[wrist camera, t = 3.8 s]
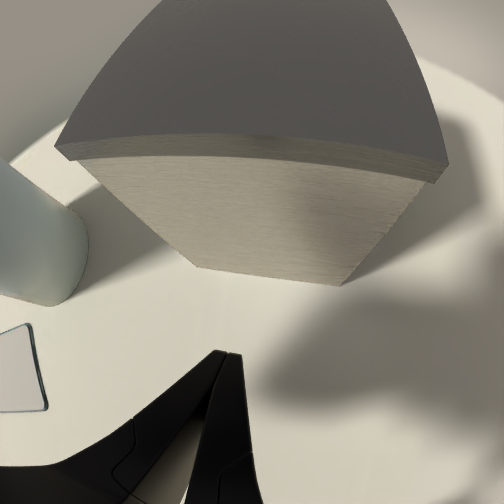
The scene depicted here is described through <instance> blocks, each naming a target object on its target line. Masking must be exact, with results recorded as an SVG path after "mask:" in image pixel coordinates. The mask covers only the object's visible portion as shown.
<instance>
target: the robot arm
mask: <svg viewBox="0 0 504 504" xmlns="http://www.w3.org/2000/svg"><path fill="white" fill-rule="evenodd" d="M252 451H253V450H252V442H251V433H250V425H249V416H248V407H247V398H246V389H245V380H244V370H243V360H242V355H241V354H237V353H231V352H230V353H227V352H226V351H221V350H213V351H212V352H211V353H210V354H209V355H208V356H206V357H205V358H204V359H203V360H202V361H201V362H199V363H198V364H197V365H196V366H195V367H194V368H192V369H191V370H190V371H189V372H188V373H186V374H185V375H184V376H183V377H182V378H181V379H179V380H178V381H177V382H176V383H175V384H173V385H172V386H171V387H170V388H168V389H167V390H166V391H165V392H164V393H162V394H161V395H160V396H159V397H158V398H156V399H155V400H154V401H153V402H151V403H150V404H149V405H148V406H146V407H145V408H144V409H143V410H141V411H140V412H139V413H138V414H136V415H135V416H134V417H133V419H130V420H128V421H127V422H126V423H125V424H123V425H122V426H121V427H119V428H118V429H117V430H115V431H114V432H112V433H111V434H110V435H108V436H106V437H105V438H103V439H101V440H100V441H98V442H96V443H95V444H93V445H91V446H89V447H87V448H86V449H84V450H82V451H80V452H78V453H76V454H75V455H73V456H71V457H69V458H67V459H65V460H63V461H61V462H58V463H55V464H51V465H44V466H0V504H180V502H181V500H182V498H183V495H184V493H185V491H186V489H187V486H188V484H189V486H188V490H187V494H186V499H185V503H184V504H263V500H262V497H261V493H260V490H259V486H258V482H257V477H256V471H255V465H254V457H253V453H252Z"/></svg>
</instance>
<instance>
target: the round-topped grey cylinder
mask: <svg viewBox="0 0 504 504" xmlns="http://www.w3.org/2000/svg"><path fill="white" fill-rule="evenodd" d="M88 246H89V242H88V233H87V229H86V226H85V224H84V222H83V220H82V219H81V218H80V216H79V215H77V214H76V213H74V212H73V211H72V210H70V209H69V208H67V207H66V206H64V205H63V204H62V203H60V202H59V201H57V200H56V199H55V198H53V197H52V196H50V195H49V194H48V193H46V192H45V191H43V190H42V189H41V188H39V187H38V186H37V185H35V184H34V183H33V182H31V181H30V180H29V179H27V178H26V177H25V176H23V175H22V174H21V173H19V172H18V171H17V170H16V169H14V168H13V167H12V166H10V165H9V164H8V163H7V162H5V161H4V160H3V159H2V158H0V295H4V296H7V297H11V298H14V299H18V300H22V301H26V302H29V303H33V304H37V305H41V306H45V307H52V306H56V305H59V304H60V303H62V302H63V301H65V300H66V299H67V298H68V297H69V296H70V295H71V294H72V293H73V291H74V290H75V288H76V287H77V285H78V283H79V281H80V279H81V277H82V275H83V272H84V269H85V266H86V262H87V257H88Z"/></svg>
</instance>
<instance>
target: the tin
mask: <svg viewBox="0 0 504 504" xmlns="http://www.w3.org/2000/svg"><path fill="white" fill-rule="evenodd" d="M54 147H55V148H56V149H57V150H58V151H59V152H60V153H62V154H63V155H64V156H65V157H66V158H67V159H68V160H69V161H75V160H77V161H78V162H79V163H80V164H81V165H82V166H83V167H84V168H85V169H86V170H87V171H88V172H89V173H90V174H91V175H92V176H94V177H95V178H96V179H97V180H98V181H99V182H100V183H101V184H102V185H103V186H104V187H105V188H106V189H108V190H109V191H110V192H111V193H112V194H113V195H114V196H115V197H116V198H117V199H118V200H120V201H121V202H122V203H123V204H124V205H125V206H126V207H127V208H128V209H130V210H131V211H132V212H133V213H134V214H135V215H136V216H137V217H139V218H140V219H141V220H142V221H143V222H144V223H145V224H146V225H148V226H149V227H150V228H151V229H152V230H153V231H154V232H156V233H157V234H158V235H159V236H160V237H161V238H163V239H164V240H165V241H166V242H167V243H168V244H170V245H171V246H172V247H173V248H174V249H175V250H177V251H178V252H179V253H180V254H181V255H183V256H184V257H185V258H186V259H187V260H189V261H190V262H191V263H192V264H193V265H194V266H196V267H197V268H204V269H211V270H218V271H225V272H232V273H239V274H247V275H254V276H262V277H269V278H277V279H285V280H292V281H300V282H308V283H317V284H325V285H333V286H340V285H341V284H342V283H343V282H344V281H345V280H346V279H347V278H348V277H349V276H350V275H351V273H352V272H353V271H354V270H355V269H356V268H357V267H358V266H359V264H360V263H361V262H362V261H363V260H364V259H365V258H366V256H367V255H368V254H369V253H370V252H371V251H372V250H373V248H374V247H375V246H376V245H377V244H378V242H379V241H380V240H381V239H382V238H383V237H384V235H385V234H386V233H387V232H388V230H389V229H390V228H391V227H392V226H393V224H394V223H395V222H396V221H397V219H398V218H399V217H400V216H401V214H402V213H403V212H404V211H405V209H406V208H407V207H408V206H409V204H410V203H411V202H412V200H413V199H414V198H415V196H416V195H417V194H418V193H419V191H420V190H421V189H422V187H423V186H424V184H425V183H426V182H429V183H433V184H434V183H435V182H436V180H437V179H438V178H439V177H440V175H441V174H442V173H443V171H444V170H445V169H446V167H447V166H448V165H449V162H448V158H447V153H446V149H445V145H444V141H443V137H442V133H441V129H440V126H439V122H438V119H437V116H436V112H435V109H434V106H433V103H432V100H431V97H430V94H429V91H428V88H427V86H426V83H425V80H424V78H423V75H422V73H421V70H420V68H419V65H418V63H417V60H416V58H415V56H414V53H413V51H412V49H411V47H410V45H409V42H408V40H407V39H406V36H405V34H404V32H403V30H402V28H401V26H400V24H399V23H398V20H397V19H396V17H395V15H394V13H393V11H392V9H391V8H390V6H389V4H388V3H387V1H386V0H162V1H161V2H160V3H159V4H158V5H157V6H156V7H155V8H154V9H153V10H152V11H151V12H150V13H149V14H148V15H147V16H146V17H145V18H144V19H143V20H142V21H141V22H140V24H139V25H138V26H137V27H136V28H135V29H134V30H133V31H132V32H131V33H130V35H129V36H128V37H127V38H126V39H125V41H124V42H123V43H122V44H121V45H120V47H119V48H118V49H117V50H116V51H115V53H114V54H113V55H112V56H111V58H110V59H109V60H108V62H107V63H106V64H105V65H104V67H103V68H102V69H101V71H100V72H99V74H98V75H97V76H96V78H95V79H94V81H93V82H92V83H91V85H90V86H89V88H88V89H87V91H86V92H85V94H84V95H83V97H82V98H81V100H80V102H79V103H78V105H77V106H76V108H75V110H74V111H73V113H72V115H71V116H70V118H69V120H68V121H67V123H66V125H65V127H64V129H63V130H62V132H61V134H60V136H59V138H58V140H57V141H56V143H55V145H54Z"/></svg>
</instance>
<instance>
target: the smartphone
mask: <svg viewBox="0 0 504 504" xmlns="http://www.w3.org/2000/svg"><path fill="white" fill-rule="evenodd" d="M47 409H48V402H47V399H46V395H45V391H44V387H43V383H42V379H41V375H40V371H39V366H38V361H37V356H36V351H35V345H34V339H33V333H32V328H31V326H30V324H28V323H25V324H22V325H20V326H18V327H15V328H13V329H10V330H8V331H6V332H3V333H1V334H0V413H17V412H38V411H46V410H47Z"/></svg>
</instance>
